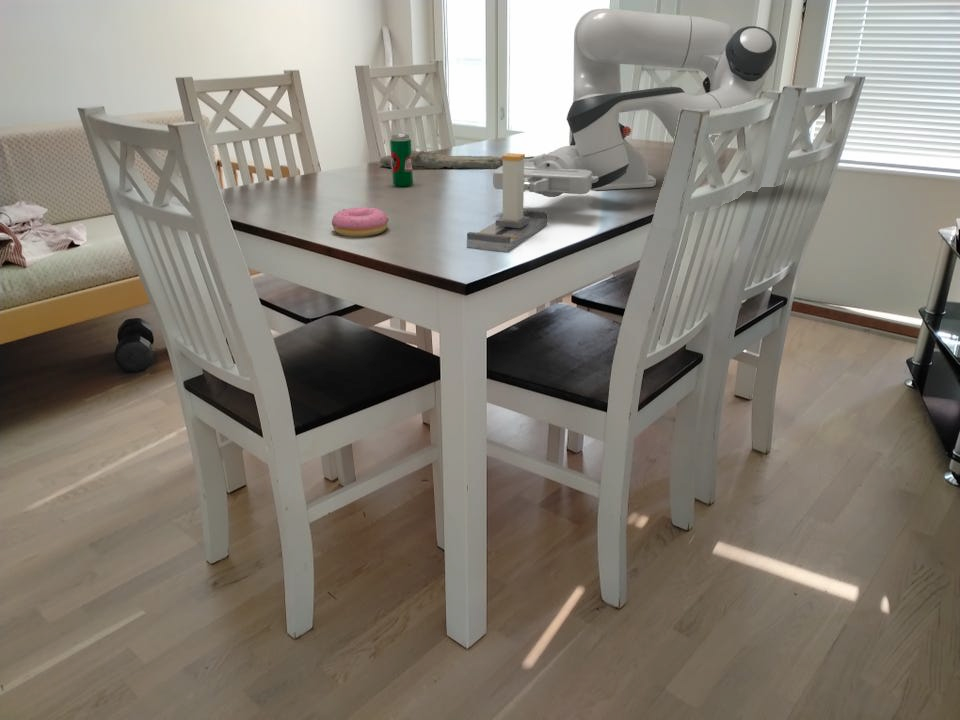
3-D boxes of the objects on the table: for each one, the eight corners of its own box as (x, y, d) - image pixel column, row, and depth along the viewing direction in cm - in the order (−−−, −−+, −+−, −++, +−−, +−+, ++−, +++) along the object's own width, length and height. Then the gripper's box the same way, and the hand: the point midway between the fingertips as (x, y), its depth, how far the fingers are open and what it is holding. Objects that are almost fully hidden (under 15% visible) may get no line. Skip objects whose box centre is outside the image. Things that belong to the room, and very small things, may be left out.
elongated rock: (503, 176, 199) (505, 171, 208) (505, 156, 197) (506, 152, 206) (376, 168, 200) (383, 164, 210) (376, 149, 198) (383, 145, 208)
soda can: (410, 188, 179) (407, 137, 174) (390, 187, 180) (387, 136, 175) (415, 183, 183) (413, 134, 178) (396, 183, 184) (393, 133, 179)
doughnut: (326, 228, 146) (324, 207, 144) (379, 222, 150) (377, 202, 148) (341, 242, 137) (339, 220, 135) (396, 235, 141) (395, 213, 139)
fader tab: (506, 219, 142) (506, 152, 137) (529, 222, 140) (531, 153, 135) (495, 225, 138) (495, 156, 133) (520, 228, 136) (520, 158, 131)
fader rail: (510, 221, 148) (510, 209, 147) (547, 225, 145) (547, 212, 144) (466, 247, 132) (466, 233, 131) (507, 252, 129) (507, 238, 128)
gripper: (600, 192, 150) (579, 207, 139) (509, 187, 158) (482, 200, 147) (601, 161, 148) (580, 173, 136) (508, 157, 156) (481, 168, 144)
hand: (528, 187), depth 142 cm, fingers closed
